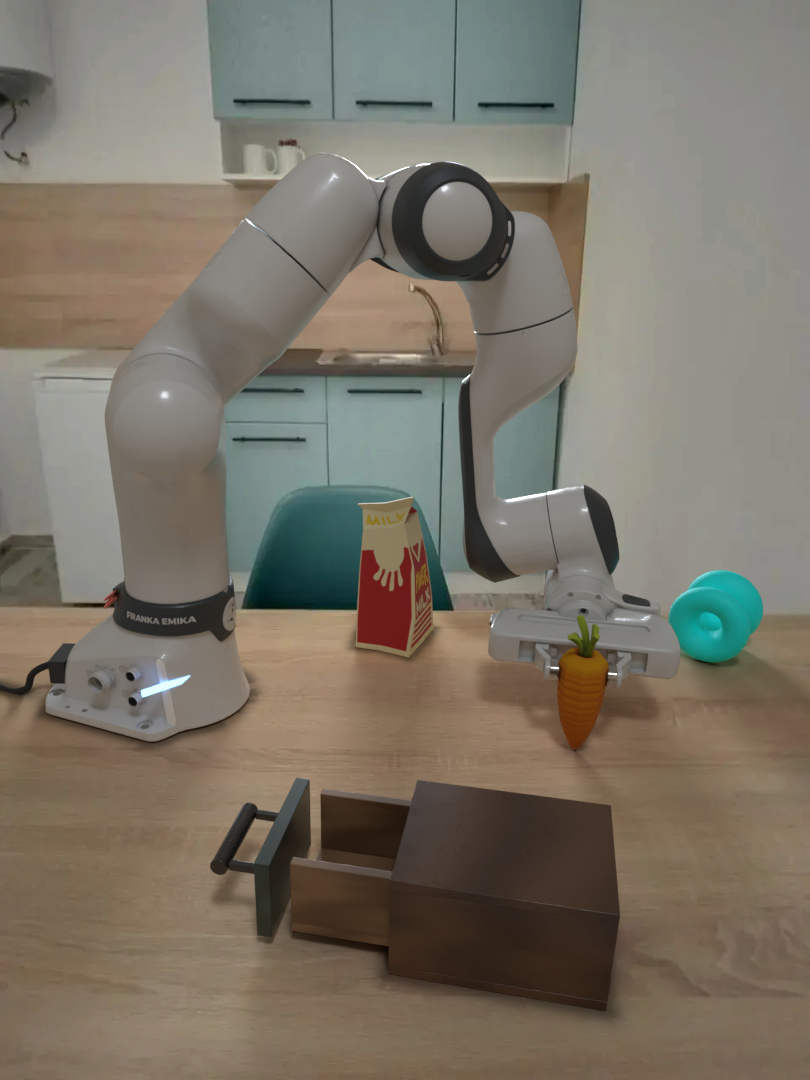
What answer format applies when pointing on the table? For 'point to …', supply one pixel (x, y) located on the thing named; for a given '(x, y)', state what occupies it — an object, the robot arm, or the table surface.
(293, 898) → the drawer
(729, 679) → the table surface
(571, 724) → the carrot
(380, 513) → the milk carton
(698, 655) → the turquoise spool
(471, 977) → the cabinet
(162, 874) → the table surface
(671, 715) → the table surface
